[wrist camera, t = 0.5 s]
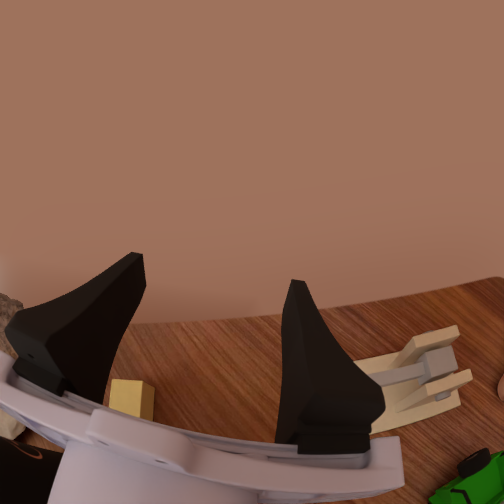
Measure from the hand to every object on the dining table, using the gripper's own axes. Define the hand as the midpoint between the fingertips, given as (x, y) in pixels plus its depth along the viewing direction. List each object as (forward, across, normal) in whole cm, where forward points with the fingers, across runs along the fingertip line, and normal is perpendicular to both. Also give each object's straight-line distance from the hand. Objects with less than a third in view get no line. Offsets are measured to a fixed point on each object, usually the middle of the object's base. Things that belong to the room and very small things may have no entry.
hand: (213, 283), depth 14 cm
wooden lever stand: (+3, -20, +14) cm, 24 cm away
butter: (+1, +8, +22) cm, 24 cm away
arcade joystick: (+1, -13, +9) cm, 16 cm away
